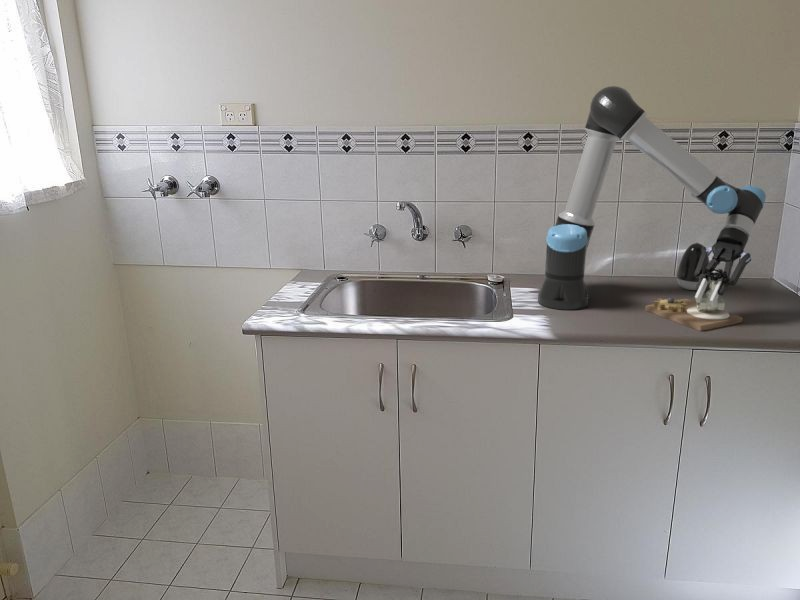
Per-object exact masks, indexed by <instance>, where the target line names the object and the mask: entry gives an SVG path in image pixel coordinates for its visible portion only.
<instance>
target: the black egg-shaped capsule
mask: <svg viewBox="0 0 800 600" xmlns="http://www.w3.org/2000/svg"><path fill="white" fill-rule="evenodd" d="M702 247H705V246H704V245H703V244H702V243H699V242H695V243H692V244H690V245H689V246H688V247H687V248H686V250H685V251H684V253H683V255H682V257H681V259H680V261H679V264H678V267H677V271H676V275H675V277H676V278H677V283H678V285H679V286H680V287H681V288H682V289H685V290H688V291H697V289H696V285H697V283H698V281H699V279H696V277H695V274H694V273H695V270H696V268H697V265H698V262H699V260H700V257H701V254H702ZM709 262H710V256H708V259H707V262H706V265H705V267H704V269H705V268H706V267H707V265H708V264H709ZM709 281H711V280H710V277H709V278H708V279H707V283H708V284H709Z"/></svg>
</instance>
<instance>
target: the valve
mask: <svg viewBox="0 0 800 600" xmlns="http://www.w3.org/2000/svg"><path fill="white" fill-rule="evenodd" d="M705 273H707V276H709V277H710V280H709V281H711V282H709V290H707V291H706V292H705V296H706V297H702V298H701V300H700V302H699V303H698V302H697V304H696V306H697V310H699V311H704V310H705V311H707V312H714V311H723V310H724V311H725V309H726V308H725V306H726V303H725V299H724V298H718V299H717V301H716V303H715V306H712V305H711V302H710V299H711V296H712V294H713V292H714V290H715V287H716V285H717V283H718V281H719V280H722V278H723V277H727V273H726V272H725V271H724V269H722V268H718V269H716V268H715V269H714V268H711V269H704V270H703V272H702V274H704V275H705Z"/></svg>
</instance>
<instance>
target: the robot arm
mask: <svg viewBox="0 0 800 600" xmlns="http://www.w3.org/2000/svg"><path fill="white" fill-rule="evenodd" d="M589 107H590V109H589V114H588V117H587V121H586V124H585V126H584V130H585V132H586V134H587V137H586V141H585V144H584V147H583V150H582V154H581V158H580V160H579V164H578V166H577V167H578V168H577V170H576V174H575V177H574V180H573V184H572V187H571V190H570V193H569V195H568V198H567V202H566V206H565V209H564V210H563V211H562V212H560V213H559V214H558V216H557V219H556V222H555V225H554V226H551V227H550V228H549V229H548V231H547V235H546V238H545V239H546V253H545V269H544V279H543V281H542V283H541V285H540V286H541V287H540V289H539V290H540V291H538V294H537V302H538V304H539V305H541V306H542V307H543V306H544V307H547V308H550V309H554V310H555V309H557V310H566V311H567V310H578V309H583V308H586V307H587V306H588V304H589V295H588V290H587V287H586V282H585V270H586V269H585V268H586V257H587V255H586V253H587V250H588V247H589V244H590V240H591V237H592V233H593V231H594V227H595V221H594V220H593V214H594V213H595V210H596V209H595V208H596V206H597V203H598V199H599V195H600V193H601V191H602V188H603V185H604V180H605V178H606V175H607V171H608V168H609V166H610V162H611V159H612V156H613V153H614V150H615V147H616V144H617V143H618V141H621V140H624V141H625V140H626V141H627V142H629V143H630V144H631V145H632V146H634V147H635V148H636V149H637V150H639V151H640V152H641V153H642V154H643V155H645V156H646V157H647V158H648V159H650V160H651V161H652V162H653V163H654V164H656V165H657V166H658V167H659V168H661V169H662V171H664V172H665V173H666V174H668V175H669V176H670V177H671V178H672V179H674V180H675V181H676V182H677V183H679V184H680V185H681V186H682V187H683V188H685V189H686V190H687V191H688V192H690V194H691V196H692V197H693V198H694V199H697V200H698V201H700V202H701V203H703V205H704V206H706V207H707V208H708V210H710V211H711V212H712V213H715V214H718V215H723V214H727V217H726V219H725V221H724V223H723V225H722V227H721V230H720V232H719V235H718V236H717V238H716V241H715V243H714V244H713V245H712V246H711V247H710V246H709V247H706V246H704V247H702V254H701V257H700V260H699V262H698V265H697V268H696V270H695V273H694V274H695V277H696V279H699V281H698V283H697V285H696V289H697V290H696V293H695V296H694V299H695V302H698V303H699V302H700V300H701V298H703V296H704V293H705V291H706V289H707V287H708V285H709V282H708V283H707V279H708V278H709V276H707V273H705V275H704V274H702V272H703V270H704V267H705V265H706V262H707V259H708V257H710V256H711V253H712V254H713V255H712V257H711V259H710V260H709V264H708V265H707V267H706V268H705V269H711V268H714V269H715V270H716V268H717V266H719V265H720V264H721V262H722V263H725V265H724V269H723V271H725V272H726V273H727V277H722V278H721V280H718V281H717V282H716V283H717V285H716V287H715V290H714V292H713V294H712V296H711V299H710V302H711V305H712V306H715V303H716V301H717V299H719V296H723V295H724V294H725V291H726V289H727V287H728V286H732V287H733V286H734V287H735V286H736V284H737V283H738V281H739V279H740V277H741V275H742V274H743V272H744V270H745V268H746V266H747V265H748V264H749V263H750V262H751V261H752V256H751V253H750V252H747V253H746V252H745V250H744V249H745V248H746V245H747V243H748V242H749V238H750V236H751V233H752V231H753V230H754V227H755V225H756V222H757V221H758V218H759V215H760V214H761V212H762V210H763V208H764V205H765V202H766V199H767V195H766V192H765V191H764V190H763V189H762V188H760V187H759V186H752V185H751V184H749V185H744V186H742V187H741V188H738V187H736V186H734V185H731V184H730V183H728V182H726V181H723V179H721V178H720V177H719V176H718V175H717V174H716V173H714V172H713V171H712V170H710V169H709V168H708V167H707V166H705V165H704V164H703V163H702V162H701V161H699V159H697V158H696V157H695V156H694V155H692V154H691V153H690V152H689V151H687V149H685V148H683V146H681V145H680V144H679V143H678V142H677V141H676V140H674V139H673V138H672V137H670V135H668V134H667V133H666V132H665V131H664V130H662V129H661V128H660V127H658V126H657V125H656V124H655V123H653V122H652V121H651V120H650V119H649V118H647V112H646V111H645V110H644V108H642V107H640V105H639V104H638V103H637V102H636V101H635V100H634V99H633V97H632V96H631V94H630V92H629V91H627V90H626V89H625V88H623V87H620V86H615V85H611V86H606V87H604V88H602V89H600V90H598V92H597V93H596V94H595V95H594V96H593V97H592V100H591V102H590V106H589ZM738 259H740V260H739V261H738V263H737V264H736V267H735V269H734V270H733V272H732V269H733V266H734V261H736V260H738Z"/></svg>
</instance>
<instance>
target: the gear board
mask: <svg viewBox="0 0 800 600" xmlns="http://www.w3.org/2000/svg"><path fill="white" fill-rule="evenodd" d="M696 304H697V302H696V301H694V300H691V299H688V298H681V299H676V300H675V298H673V297H668V298H667V299H663V298H657V300H654V303H653V304H646V305H645V307H644V308H645V309H644V311H645V312H648V313H650V314H653V315H656V316H660V317H662V318H664V319H666V320H669V321H673V322H675V323H678V324H680V325H683V326H686V327H689V328H690V329H693V330H696V331H699V332H702V331H707V330H712V329H717V328H723V327H726V326H732V325H736V324H741V323H743V319H744V318H743V317H744V316H743V317H742V316H740V315H736V314H733V313H730V312H728V311H726V310H725V309H724V310H723V311H714V312H707V311H705V310H704V311H699V310H697V306H696Z"/></svg>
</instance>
